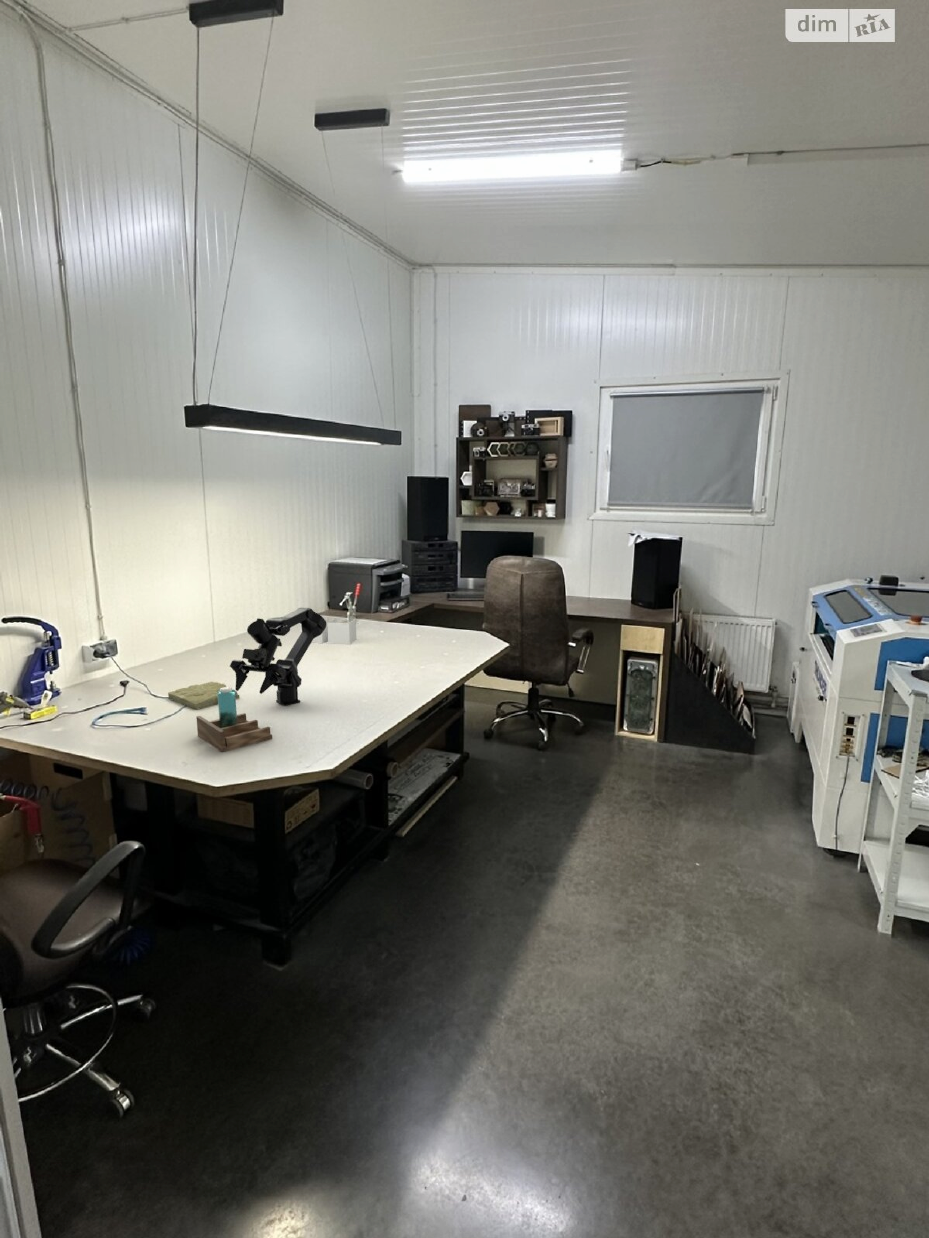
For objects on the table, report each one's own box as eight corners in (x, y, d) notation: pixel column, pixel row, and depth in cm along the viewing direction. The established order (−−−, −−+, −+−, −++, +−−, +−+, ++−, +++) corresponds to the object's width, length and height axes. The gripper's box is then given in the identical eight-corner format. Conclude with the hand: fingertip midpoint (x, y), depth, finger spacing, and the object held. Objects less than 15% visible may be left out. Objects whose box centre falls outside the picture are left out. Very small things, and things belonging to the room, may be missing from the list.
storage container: (301, 643, 334) (300, 621, 332) (309, 638, 345) (308, 617, 342) (349, 645, 330) (349, 623, 328) (356, 640, 341) (355, 618, 339)
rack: (246, 723, 221) (245, 705, 220) (272, 738, 208) (271, 719, 207) (197, 735, 210) (196, 716, 209) (221, 752, 197) (220, 732, 196)
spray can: (240, 726, 214) (237, 686, 212) (234, 732, 209) (231, 691, 207) (223, 726, 215) (220, 686, 212) (217, 732, 209) (214, 691, 207)
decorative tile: (196, 711, 234) (195, 701, 234) (167, 699, 247) (166, 690, 246) (244, 698, 249) (243, 689, 248) (214, 688, 261) (214, 679, 261)
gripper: (231, 636, 224) (211, 677, 217) (279, 640, 219) (261, 682, 211) (247, 653, 233) (229, 693, 225) (294, 657, 228) (277, 698, 220)
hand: (248, 691), depth 220 cm, fingers open, 9 cm apart
